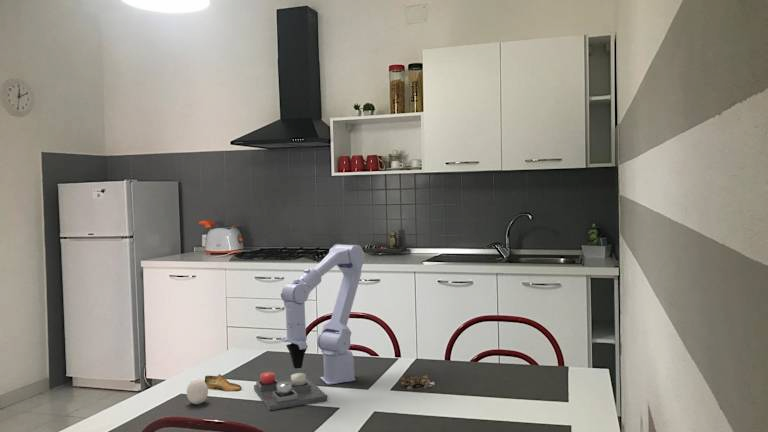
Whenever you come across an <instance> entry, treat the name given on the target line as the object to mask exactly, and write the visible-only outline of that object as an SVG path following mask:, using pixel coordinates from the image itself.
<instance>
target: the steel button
mask: <svg viewBox="0 0 768 432" xmlns="http://www.w3.org/2000/svg"><path fill="white" fill-rule="evenodd" d="M291 393H292V383H291V382H281V383H278V384H277V394H278V395H288V394H291Z"/></svg>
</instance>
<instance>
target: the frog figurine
mask: <svg viewBox="0 0 768 432" xmlns="http://www.w3.org/2000/svg"><path fill="white" fill-rule="evenodd" d="M399 379H400V382H401V385H407V387H406V388H407V389H408V390H412V389H414V387H420V386H423V388H425V389H426V388H429V387H433V386H434V385H435V384H436V383H435V381H432V382H431V381H430V379H429V377H428V375H427V374H426V375H423V376H420V377H418V376H416V375H414V374H411V375H405V374H403V375H402V376H401V377H400V378H399Z"/></svg>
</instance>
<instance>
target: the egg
mask: <svg viewBox="0 0 768 432" xmlns="http://www.w3.org/2000/svg"><path fill="white" fill-rule="evenodd" d="M204 381H205V380H203V379H202V378H199V377H196V378H193V379H191V381H189V384H188V385H187V388H186V397H187V399H188V401H189V402H190V403H192V404H194V405H200V404H202V403H204V402H205V400H206V399H208V395H209V389H208V387H207V385H206V383H205V382H204Z"/></svg>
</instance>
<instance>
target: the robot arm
mask: <svg viewBox="0 0 768 432" xmlns="http://www.w3.org/2000/svg"><path fill="white" fill-rule="evenodd" d="M365 258H366V255H365V253H364V250H363V248H362V246H360V245H359V244H341V243H336V244H334V245H333V246H332V247H331V248H330V249H329V251H328V254H326V255H325V256H324V258H323V259H322V260H321V261H319V262H318V263H317V265H316V266H315V267H314V268H312V267H310V268H309V267H308V268H305V269H304V270H303V273H302V274H301V275H299V276H298V277H297V278H294V280H293V282H292V283H290V282H289V283H287V284H285V285H284V286H283V288H282V290H281V293H280V298H281V299H282V301H283V305H284V308H285V322H286V323H285V325H286V337H285V338H282V341H283V342H284V343H287V344H286V348H287V350H288V353H289V354H290V357H291V362H292V365H293V368H294V369H302V367H303V363H304V357H305V353H306V351H307V350H308V347H309V346H308V345H307V340H308V337H307V329H306V310H305V309H306V307H305V305H306V304H305V303H306V302H307V301H308V299H309V295H310V294H311V292H312V291H313V290H314V289H315V288H316V287H317V286H319V285H320V283H322V277H324V275H326V274H327V273H328V272H329V271H330V270H332V269H333V268H335V267H337V268H338V270H339V271H341V272H342V274H343V276H342V280H341V283H340V288H339V289H338V290H339V291H338V293H337V294H338V295H337V296H336V300H335V303H334V307H333V310H332V314H331V317H330V321H328V322H327V323H325V324H324V325H322V326H323V327H322V329H321V331H320V333H319V334H318V336H317V339H316V340H317V341H316V344H317V347H318V348H319V349H320V350H321V353H322V357H323V363H322V364H323V376H320V377H319V379H320V380H322V382H324V383H325V384H326V385H328V386H329V385H335V384H341V383H347V382H354V381H356V377H355V359H354V355H353V353H352V351H351V350H350V348H351V336H352V331H351V330H350V328H349V327H348V322H349V318H350V315H351V313H352V312H351V311H352V307H353V305H354V300H355V298H356V297H355V296H356V294H357V290H358V287H359V284H360V283H359V282H360V280H361V276H362V268H363V264H364V260H365Z"/></svg>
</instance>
